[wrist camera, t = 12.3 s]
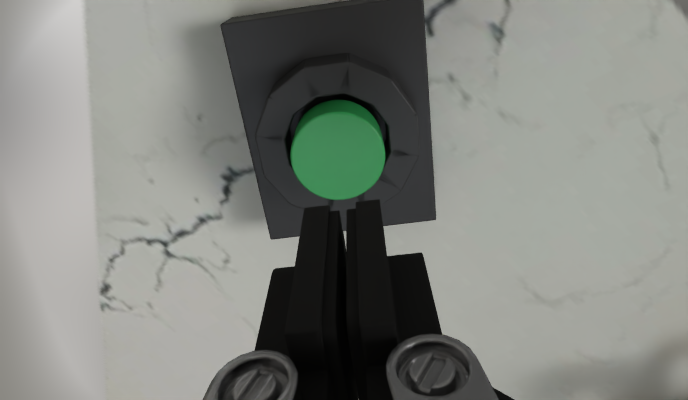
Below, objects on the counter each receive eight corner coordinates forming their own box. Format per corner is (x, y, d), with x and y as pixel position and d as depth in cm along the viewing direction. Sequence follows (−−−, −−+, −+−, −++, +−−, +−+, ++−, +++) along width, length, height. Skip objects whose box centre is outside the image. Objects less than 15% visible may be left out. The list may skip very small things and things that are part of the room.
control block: (230, 17, 21) (208, 30, 18) (415, -10, 21) (431, -2, 17) (276, 218, 26) (265, 261, 22) (429, 199, 25) (443, 240, 22)
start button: (286, 105, 19) (282, 118, 18) (377, 93, 19) (380, 105, 18) (302, 187, 21) (299, 206, 20) (386, 176, 21) (389, 194, 19)
